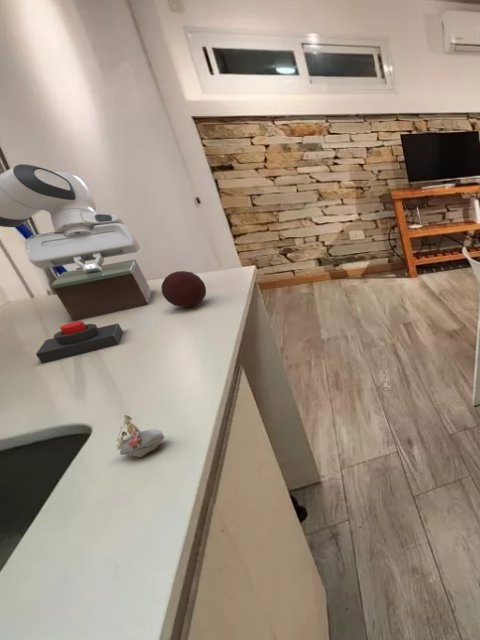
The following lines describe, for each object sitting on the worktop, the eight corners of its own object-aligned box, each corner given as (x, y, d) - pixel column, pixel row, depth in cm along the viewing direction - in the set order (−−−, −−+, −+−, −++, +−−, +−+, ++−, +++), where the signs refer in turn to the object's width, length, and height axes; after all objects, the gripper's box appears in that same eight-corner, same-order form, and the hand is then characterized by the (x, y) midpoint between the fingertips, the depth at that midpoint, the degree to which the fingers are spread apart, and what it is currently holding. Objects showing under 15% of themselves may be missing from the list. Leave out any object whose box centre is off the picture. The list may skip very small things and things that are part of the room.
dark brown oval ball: (208, 295, 130) (193, 263, 126) (215, 306, 122) (200, 271, 118) (169, 305, 125) (152, 272, 121) (173, 317, 117) (155, 281, 113)
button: (62, 337, 100) (58, 329, 99) (66, 332, 103) (61, 324, 102) (85, 331, 102) (81, 324, 101) (88, 326, 105) (84, 319, 104)
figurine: (172, 437, 71) (152, 403, 68) (164, 453, 67) (143, 419, 65) (127, 449, 69) (105, 415, 66) (116, 467, 65) (93, 432, 62)
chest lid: (131, 273, 123) (129, 270, 122) (52, 288, 115) (50, 285, 115) (136, 262, 133) (135, 259, 133) (64, 275, 126) (62, 272, 125)
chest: (148, 304, 127) (131, 272, 123) (73, 320, 119) (52, 287, 116) (151, 291, 137) (136, 262, 133) (82, 306, 129) (64, 275, 126)
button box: (41, 363, 98) (30, 346, 96) (51, 348, 104) (40, 332, 102) (118, 344, 104) (109, 327, 102) (123, 331, 111) (114, 316, 109)
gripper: (14, 229, 116) (28, 275, 113) (124, 213, 127) (138, 255, 124) (30, 244, 121) (43, 288, 118) (134, 227, 132) (148, 268, 129)
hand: (93, 271), depth 121 cm, fingers closed, pressing on chest lid
